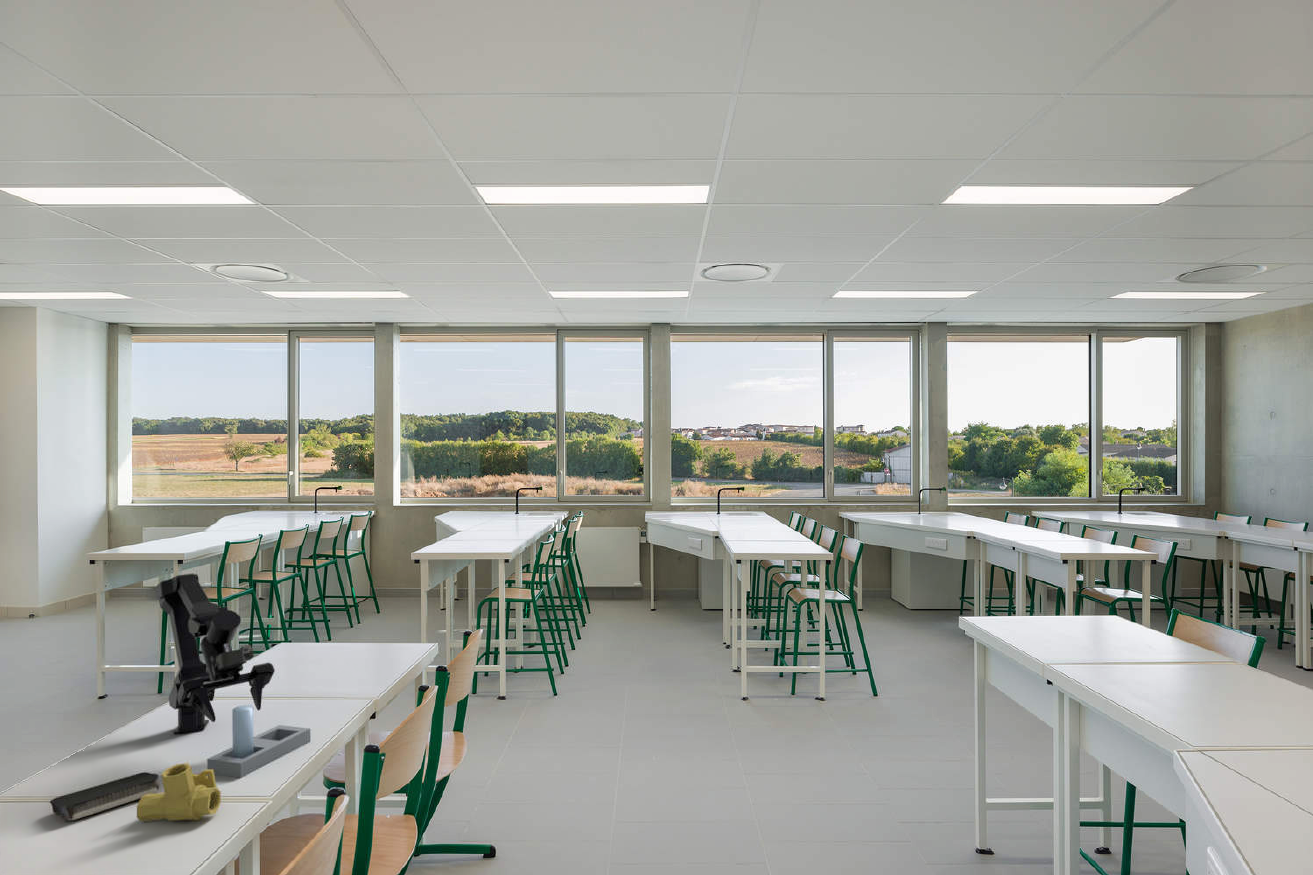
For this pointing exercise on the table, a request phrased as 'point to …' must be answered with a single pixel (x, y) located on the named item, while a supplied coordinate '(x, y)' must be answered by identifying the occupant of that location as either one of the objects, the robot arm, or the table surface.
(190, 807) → the ball valve
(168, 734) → the table surface
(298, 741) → the panel
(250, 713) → the plug
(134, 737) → the table surface
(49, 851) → the table surface
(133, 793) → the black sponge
